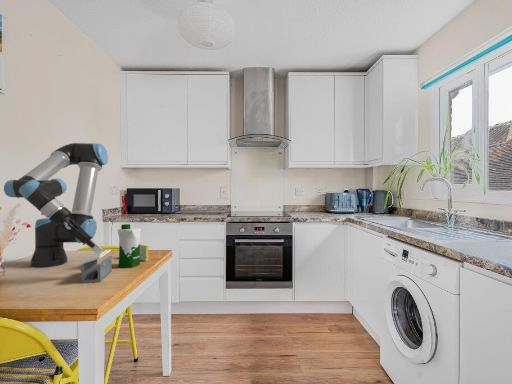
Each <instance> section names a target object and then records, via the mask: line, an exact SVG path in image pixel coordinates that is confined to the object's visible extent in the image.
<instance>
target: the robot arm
mask: <svg viewBox="0 0 512 384" xmlns="http://www.w3.org/2000/svg"><path fill="white" fill-rule="evenodd" d="M108 163H109V155H108V151H107V149H106V146H104V145H103V144H101V143H95V142H94V143H85V142H84V143H83V142H82V143H81V142H80V143H79V142H73V143H69V144H65V145H62V146H60V147H58V148H57V149H55V150H53V152H51V153H50V155H49V157H48V158H46V159H44V161H42V162H41V163H39V164H38V165H37V166H35V167H33V168H32V169H31V170H30V171H28V172H27V173H26V174H25V175H23V176H21V177H20V178H18V179H10V180H7V181H6V182H5V183H4V185H3V191H4V195H6V196H8V197H9V198H17V199H21V198H22V199H23V198H24V199H25V200H26V201H27V202H29V203H30V204H31V205H32V206H33V207H35V208H36V209H37V210H38V211H39V212H40V214H41V216H44V218H38V219H36V220H35V225H34V244H35V247H34V248H35V249H34V252H33V254H32V256H31V260H30V267H33V268H47V267H55V266H59V265H63V264H66V263H67V262H68V256H67V254H66V250H65V246H64V243H67V244H68V243H69V244H70V243H78V244H81V243H82V245H83V246H84V245H86V246H87V247H89V249H90V250H92V251H93V252H94V254H98V253H100V252H103V251H104V249H103V248H102V247H101V246H100V245H99V244H98V243H97V242H95V241H94V237H95V235H96V233H97V230H98V229H97V228H98V226H97V221H96V220H95V219H94V216H93V214H92V208H93V202H94V198H95V191H96V185H97V180H98V174H99V172H100V171H101V170H102V169H103V166H106V165H107V164H108ZM72 165H77V167H78V168H79V174H78V178H77V183H76V188H75V192H74V193H75V194H74V199H73V203H72V208H71V210H69V209H68V208H67V207H66V206H64V204H63V203H62V202H61V201H60V200H59V199H58V198H57V197H59V196H61V195H63V194H64V193H66V191H67V189H68V188H67V184H66V182H65V181H64V180H63V179H61V178H52V177H53V176H54V175H56V174H57V173H58V172H60V170H62V169H65V168H67V167H69V166H72ZM51 178H52V179H51Z"/></svg>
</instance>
